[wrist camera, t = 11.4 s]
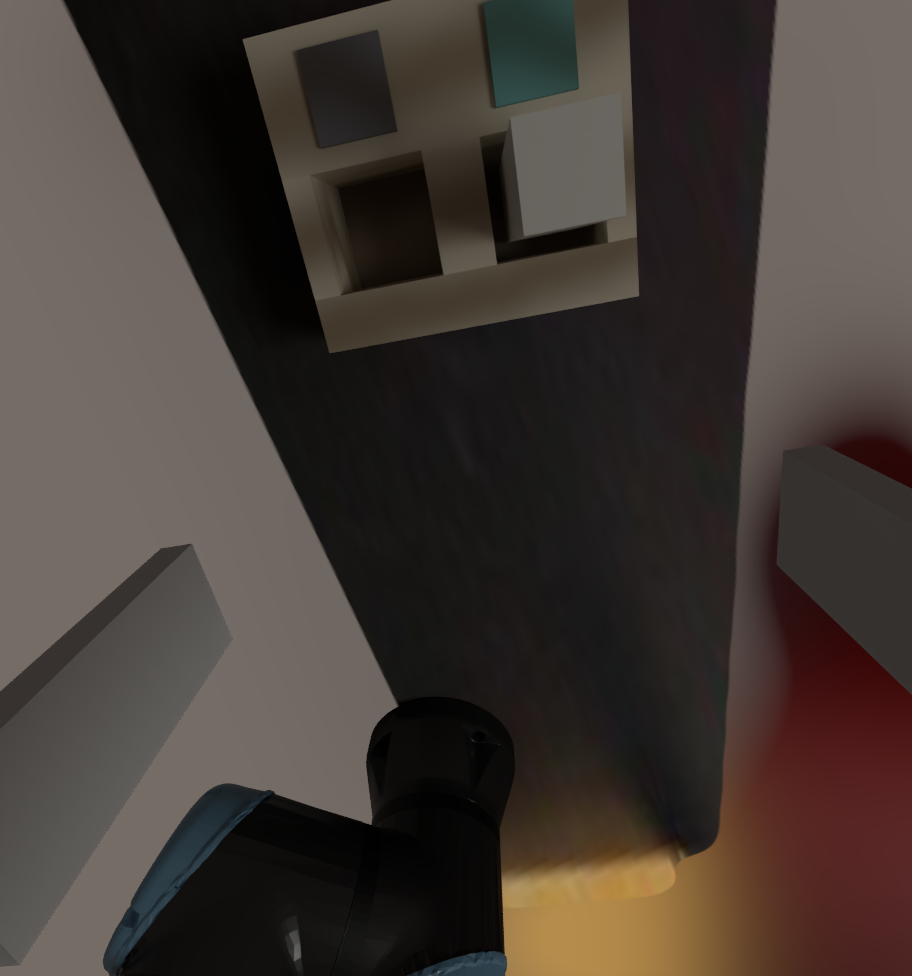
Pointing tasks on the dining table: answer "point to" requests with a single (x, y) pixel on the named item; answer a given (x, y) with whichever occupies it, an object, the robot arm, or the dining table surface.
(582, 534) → the dining table surface
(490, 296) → the socket board
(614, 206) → the plug
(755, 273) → the dining table surface
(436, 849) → the robot arm
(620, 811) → the dining table surface
